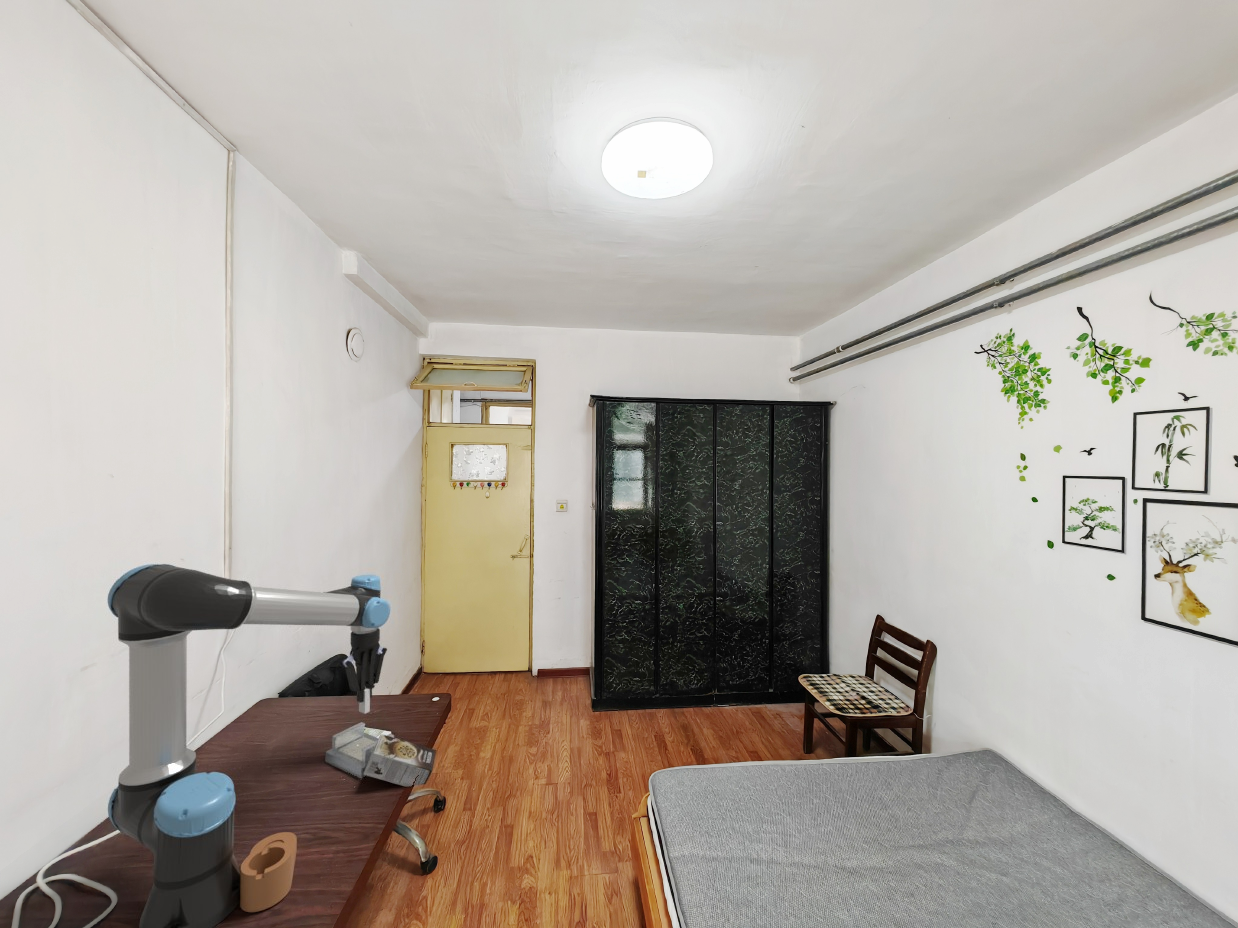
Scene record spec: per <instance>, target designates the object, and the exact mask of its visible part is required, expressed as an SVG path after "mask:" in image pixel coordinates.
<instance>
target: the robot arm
mask: <svg viewBox="0 0 1238 928" xmlns="http://www.w3.org/2000/svg"><path fill="white" fill-rule="evenodd" d="M350 581H351V583H350V586H347V587H343V588H338V589H334V590H330V591H323V592H321V591H309V590H296V589H286V588H285V589H284V588H283V589H282V588H272V587H261V586H253V585H252V584H251V583H250V582H249V581H246V580H240V579H239V580H237V579H231V578H227V577H223V576H217V575H214V574H210V573H206V572H203V571H201V570H198V569H197V570H196V569H191V568H190V569H189V568H183V567H179V566H175V565H173V564H168V563H161V564H159V563H157V564H156V563H155V564H154V563H151V564H145V565H141V566H137V567H135V568H132V569H130V570H128V571H127V572H125V573H123V574H122V575H121V576H120V577H118V579H116V580H115V582H114V583H113V585H111V588H109V592H108V593H107V606H108V609H109V610H110V612H111V613H112V615H114V617H116V618H117V627H118V628H117V635H118V636H117V637H118V641H119V642H121V643H123V644H125V645H126V646H128V649H129V650H128V657H129V659H128V663H129V664H128V669H129V670H128V680H129V681H128V687H129V688H128V692H129V694H128V699H129V700H128V701H129V702H128V706H129V708H128V711H129V712H128V715H129V716H128V720H129V723H128V724H129V725H128V726H129V727H128V733H129V735H128V736H129V737H128V742H129V743H128V744H129V746H128V758H129V760H128V762H129V763H128V765H127V766H126V767H125V768H124V769H123V770H122V771H121V772H120V773H119V775H118V779H117V780H118V781H117V783H118V785H117V786H116V788H114V790H113V791H112V793H111V795H110V797H109V799H108V803H107V804H108V805H107V815H108V819H109V821H110V822H111V824H112V825H113V827H115V829H116V830H117V831H119V832H120V833H122V834H124V835H126V836H128V837H130V838H132V839H133V840H135V841H136V842H138V843H140V844H141V845H142V846H144V847H146V848H147V849H149V850H150V851H152V853H153V856H154V857H153V885H152V888H151V890H150V892H149V895H148V897H147V901H146V903H145V906H144V909H143V911H142V913H141V915H140V916H141V917H140V919H139V928H214V927H215V926H217V925H218V924H219V923H221V922H222V921H223V920H225V919H226V918H227V917H229V915H230V914H231V913H232V912H233V911H234V910H235V908H236V907H237V906H238V904H240V881H241V867H240V866H239V864H238V862H237V860H236V857H235V854H234V838H235V837H234V836H235V835H234V834H235V831H234V830H235V826H234V825H235V805H236V798H237V797H236V792H235V785H234V782H233V779H231V778H230V777H229V776H228V775H227V774H225V773H224V772H223V773H222V772H217V771H210V772H209V773H207V771H206V772H198V773H197V753H196V752H195V751H194V750H192V749H190V748H188V747H187V693H188V691H187V685H188V684H187V681H188V680H187V668H188V667H187V666H188V663H187V660H188V659H187V653H188V651H187V642H188V640H187V639H188V638H187V637H188V635H189V634H190V633H191V632H192V631H207V630H211V631H213V630H235V629H237V628H239V627H241V626H242V625H271V626H272V625H273V626H274V625H277V626H278V625H280V626H283V625H284V626H289V625H290V626H341V627H342V626H345V627H350V630H351V632H350V647H351V648H350V649H351V650H350V652H349V656H348V657H347V658H346V659H342V661H341V664H342V666H343V667H344V670H345V673H346V677H347V681H348V682H347V683H348V686H349V690H350V691H354V692H356V701H357V702H358V712H360V713H362V714H365V715H366V714H367V713H370V712H371V710H370V709H371V708H370V707H371V706H370V705H371V699H372V697H373V690H374V689H375V686H376V684H378V683H379V681H380V678H381V677H380V676H381V673H382V667H383V662H384V659H385V656H386V653H387V651H388V648H387V647H384V646H381V644H380V643H379V642H380V640H381V630H380V628H381V627H382V626H383V625H385V624H386V623H387V621H388V619H389V618H390V614H391V605H390V604H389V602H388V600H386V599H384V598H381V591H382V590H381V578H380V576H379V575H376V574H361V575H357V576H354V577H352V578H351V580H350ZM354 664H355V665H354Z"/></svg>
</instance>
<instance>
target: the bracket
mask: <svg viewBox="0 0 1238 928" xmlns="http://www.w3.org/2000/svg"><path fill="white" fill-rule="evenodd" d="M297 839H298V837H297V835H296V834H295V833H293V832H290V831H288V832H287V831H283V832H277V833H275V834H271V835H268V836H267V837H264V838H263V839H261V840H259V841H258V842H257V843H256V844H255V845H254V846H253V847H252V849H251V850H250V852H249V855H248V856H246V858H245V859H244V860H243V861H242V863H241V865H240V870H241V881H240V902H239V906H240V908H241V910H242V911H244V912H248V913H256V912H260V911H264V910H267V909H269V908H271V907H273V906H275V905H276V904H278V903H279V902H281V901H282V900H283V899H284V898H285V897H286V896H287V895H288V894H289V892H290V891H291V888H292V883H293V877H294V872H295V871H294V870H295V864H296V858H297V848H298V846H297V845H298V842H297V841H298V840H297Z"/></svg>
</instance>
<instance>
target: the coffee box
mask: <svg viewBox="0 0 1238 928" xmlns="http://www.w3.org/2000/svg"><path fill="white" fill-rule="evenodd" d="M378 738H379V739H378V741H377V743H376V745H375V747H374V749H373V751H372V754H371V756H370V759H369V761H368V764H367V766H366V769H365V771H364V774H363V775H367V776H366V777H371V778H374V779H378V780H380V781H381V780H382V781H385V782H389V783H392V784H395V785H399V786H402V787H414V786H415V787H416V786H423V785H426V784H427V782H428V781H429V779H430V777H431V774H432V773H433V769H434V763H435V760H436V755H437V749H434V748H430V747H426V746H423V745H420V744H416V743H413V742H410V741H406V740H403V739H400V738H397V737H394V738H393V737H390V736H387V735H385V734H384V733H380V735H379V737H378ZM418 775H419V776H418ZM417 776H418V777H417ZM416 777H417V778H416ZM415 778H416V781H415ZM414 781H415V783H414V786H412V785H413V782H414Z"/></svg>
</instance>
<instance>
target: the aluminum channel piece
mask: <svg viewBox="0 0 1238 928" xmlns="http://www.w3.org/2000/svg"><path fill="white" fill-rule="evenodd" d="M365 726H366V723H365V722H362V721H361V722H359V723H357V724H354V725H352V726H350V727H348V728H346V729H344V730H342V731H340V732H338V733H336V734H334V735H332V736H331V738H332V740H331V749H329V750H327V751H325V763H327V764H328V765H331V766H333V767H335V768H337V769H340V770H341V771H343V772H346V773H347V772H348V773H347V774H349V773H350V774H349V775H351V774H352V775H351V776H353V775H354V776H353V777H355V776H357V777H359V778H363V777H365V776H366V775H363V774H364V771H365V769H366V766H367V764H368V761H369V759H370V756H371V754H372V751H373V749H374V747H375V745H376V743H377V741H378V739H379V737H376V736H374V735H371V734H369V733H366V732H365ZM386 736H390V737H393V738H395V735H394V734H392V733H388V734H387V735H386ZM357 777H356V778H357ZM366 777H367V776H366ZM366 777H365V778H366ZM359 778H358V779H359ZM363 779H364V778H363Z"/></svg>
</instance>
